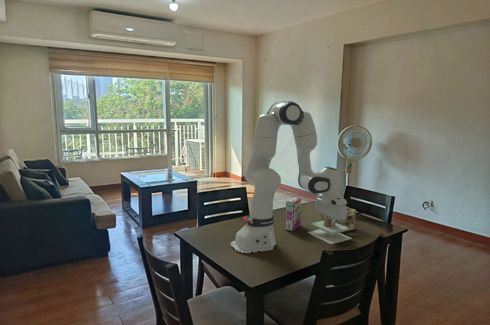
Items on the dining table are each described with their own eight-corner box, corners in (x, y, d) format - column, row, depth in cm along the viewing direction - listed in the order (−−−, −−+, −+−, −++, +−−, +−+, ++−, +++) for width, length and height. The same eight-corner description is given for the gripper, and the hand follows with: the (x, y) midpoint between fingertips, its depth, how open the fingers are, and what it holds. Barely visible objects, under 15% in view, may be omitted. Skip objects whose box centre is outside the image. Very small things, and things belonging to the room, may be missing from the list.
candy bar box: (293, 231, 181) (293, 202, 179) (285, 230, 184) (285, 201, 181) (301, 225, 191) (301, 197, 188) (292, 224, 193) (293, 196, 191)
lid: (331, 236, 165) (332, 225, 164) (311, 226, 178) (311, 217, 178) (348, 231, 170) (349, 221, 170) (327, 223, 184) (327, 213, 183)
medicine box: (344, 225, 190) (344, 211, 189) (345, 228, 186) (346, 213, 184) (330, 225, 191) (330, 210, 190) (331, 228, 187) (331, 213, 185)
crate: (340, 232, 179) (341, 212, 178) (321, 224, 192) (321, 206, 191) (355, 229, 184) (355, 209, 183) (335, 221, 198) (336, 203, 196)
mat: (330, 244, 164) (330, 243, 164) (307, 232, 179) (307, 232, 179) (351, 239, 170) (351, 238, 170) (327, 228, 186) (327, 227, 186)
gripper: (312, 194, 179) (311, 219, 181) (340, 203, 162) (339, 230, 164) (321, 193, 182) (320, 217, 184) (349, 201, 165) (348, 228, 167)
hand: (329, 223), depth 174 cm, fingers closed on lid
